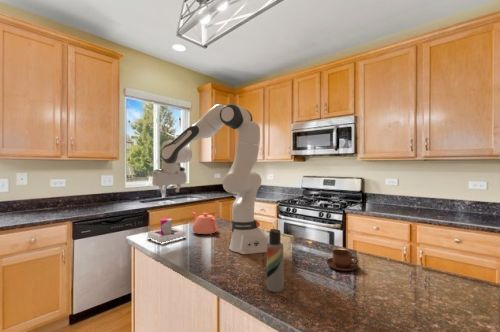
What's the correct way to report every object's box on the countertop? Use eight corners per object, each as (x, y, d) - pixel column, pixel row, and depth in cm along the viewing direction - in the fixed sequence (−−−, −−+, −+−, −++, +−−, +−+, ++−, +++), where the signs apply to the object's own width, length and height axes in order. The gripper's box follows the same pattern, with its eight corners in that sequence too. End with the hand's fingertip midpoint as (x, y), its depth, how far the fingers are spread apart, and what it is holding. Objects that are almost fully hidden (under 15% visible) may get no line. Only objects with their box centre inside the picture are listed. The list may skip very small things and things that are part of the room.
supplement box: (171, 237, 150) (171, 217, 150) (171, 240, 145) (171, 219, 145) (161, 238, 149) (161, 218, 149) (160, 241, 143) (160, 220, 143)
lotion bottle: (273, 282, 92) (272, 226, 92) (286, 287, 88) (286, 229, 88) (263, 288, 87) (263, 230, 87) (277, 294, 84) (277, 232, 84)
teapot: (183, 232, 161) (182, 212, 161) (201, 227, 173) (201, 209, 173) (207, 238, 148) (207, 216, 148) (225, 232, 160) (225, 212, 160)
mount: (171, 234, 158) (171, 226, 158) (185, 238, 148) (185, 230, 148) (147, 239, 146) (147, 231, 146) (161, 244, 137) (161, 235, 137)
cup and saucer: (356, 263, 110) (355, 249, 110) (359, 275, 98) (359, 259, 98) (326, 260, 113) (326, 246, 113) (327, 271, 101) (326, 256, 101)
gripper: (155, 169, 138) (156, 194, 138) (187, 168, 154) (188, 191, 154) (149, 169, 142) (150, 194, 142) (181, 168, 158) (181, 191, 158)
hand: (170, 192), depth 148 cm, fingers open, 8 cm apart
